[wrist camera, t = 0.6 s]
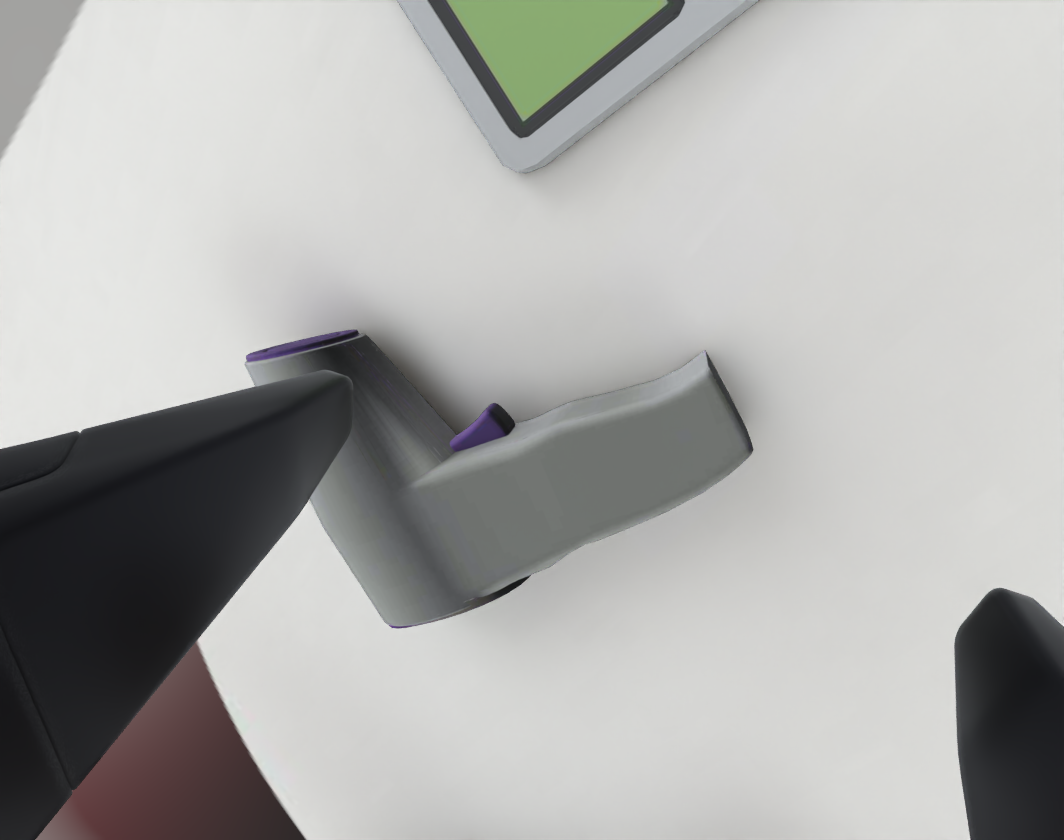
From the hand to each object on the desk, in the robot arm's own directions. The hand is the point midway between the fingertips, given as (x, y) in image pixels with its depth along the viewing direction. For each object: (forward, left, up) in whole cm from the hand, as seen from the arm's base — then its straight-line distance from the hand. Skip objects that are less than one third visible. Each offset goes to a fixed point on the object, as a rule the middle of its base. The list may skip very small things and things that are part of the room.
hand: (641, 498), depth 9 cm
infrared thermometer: (-7, +3, -15) cm, 17 cm away
